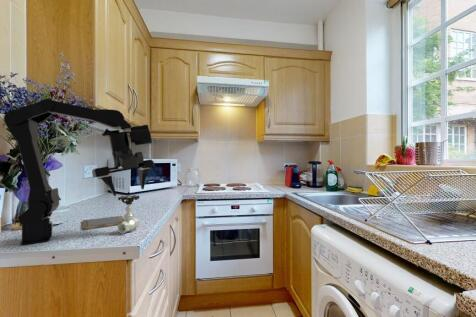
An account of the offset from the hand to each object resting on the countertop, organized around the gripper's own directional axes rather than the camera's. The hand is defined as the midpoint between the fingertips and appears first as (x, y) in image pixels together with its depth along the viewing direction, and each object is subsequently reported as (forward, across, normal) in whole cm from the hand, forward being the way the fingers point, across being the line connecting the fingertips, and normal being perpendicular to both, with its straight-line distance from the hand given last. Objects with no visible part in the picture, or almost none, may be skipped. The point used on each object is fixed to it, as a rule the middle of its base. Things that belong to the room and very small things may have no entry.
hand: (129, 192), depth 82 cm
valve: (+13, -2, 0) cm, 14 cm away
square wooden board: (+11, -6, +19) cm, 23 cm away
